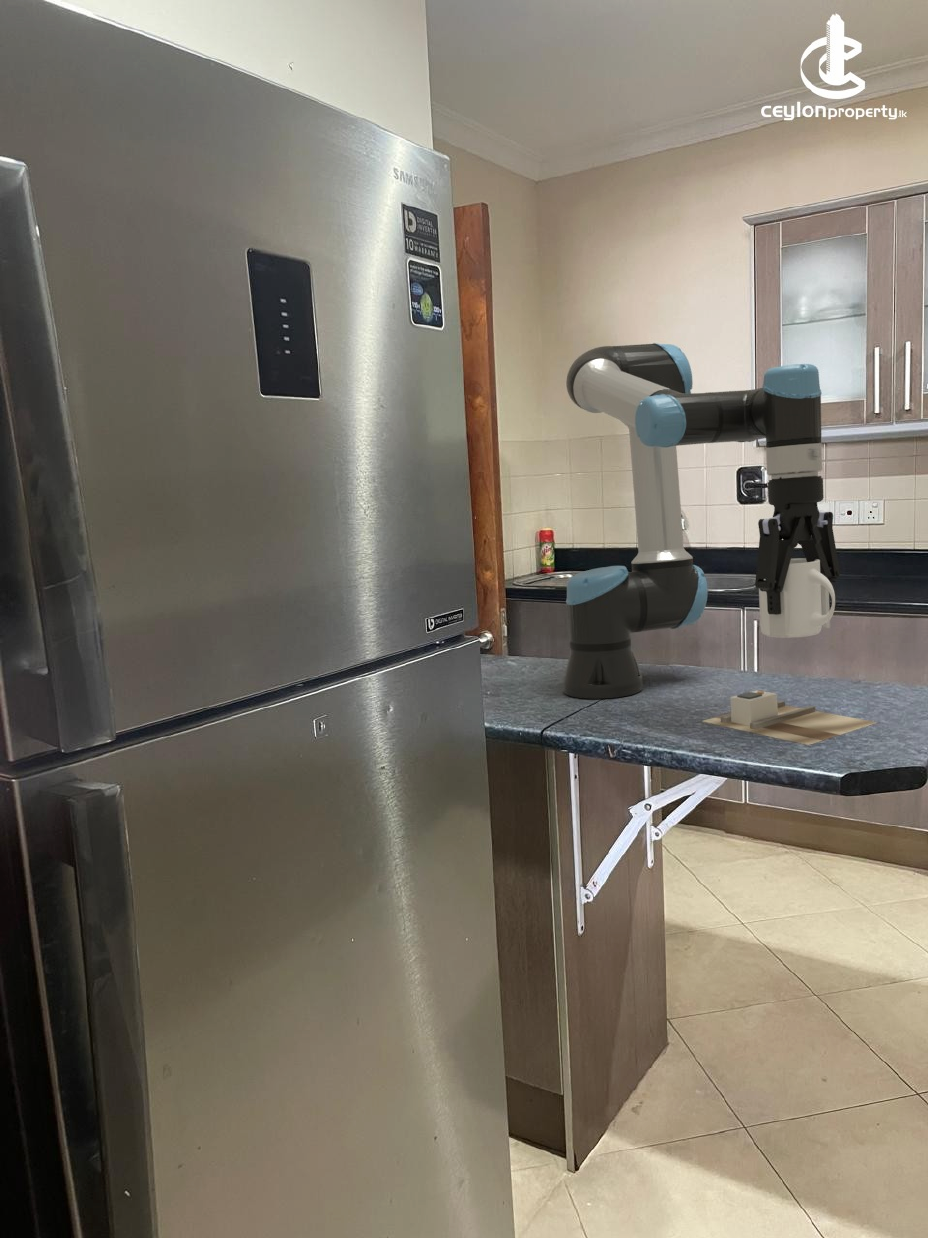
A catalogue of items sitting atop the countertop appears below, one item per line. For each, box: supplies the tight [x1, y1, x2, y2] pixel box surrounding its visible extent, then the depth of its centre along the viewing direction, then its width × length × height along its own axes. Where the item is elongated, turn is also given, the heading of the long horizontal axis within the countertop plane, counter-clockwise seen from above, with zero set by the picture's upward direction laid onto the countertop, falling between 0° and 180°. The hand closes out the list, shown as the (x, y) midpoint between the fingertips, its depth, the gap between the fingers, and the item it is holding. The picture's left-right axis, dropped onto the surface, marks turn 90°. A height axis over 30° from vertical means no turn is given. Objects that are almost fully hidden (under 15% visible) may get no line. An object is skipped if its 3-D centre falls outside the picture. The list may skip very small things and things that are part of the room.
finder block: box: [729, 690, 778, 726], centre depth 145 cm, size 4×6×4 cm, turn 123°
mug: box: [758, 557, 836, 639], centre depth 136 cm, size 9×12×11 cm
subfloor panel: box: [701, 700, 879, 746], centre depth 143 cm, size 20×16×2 cm
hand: (800, 631), depth 137 cm, fingers closed on mug, 9 cm apart
